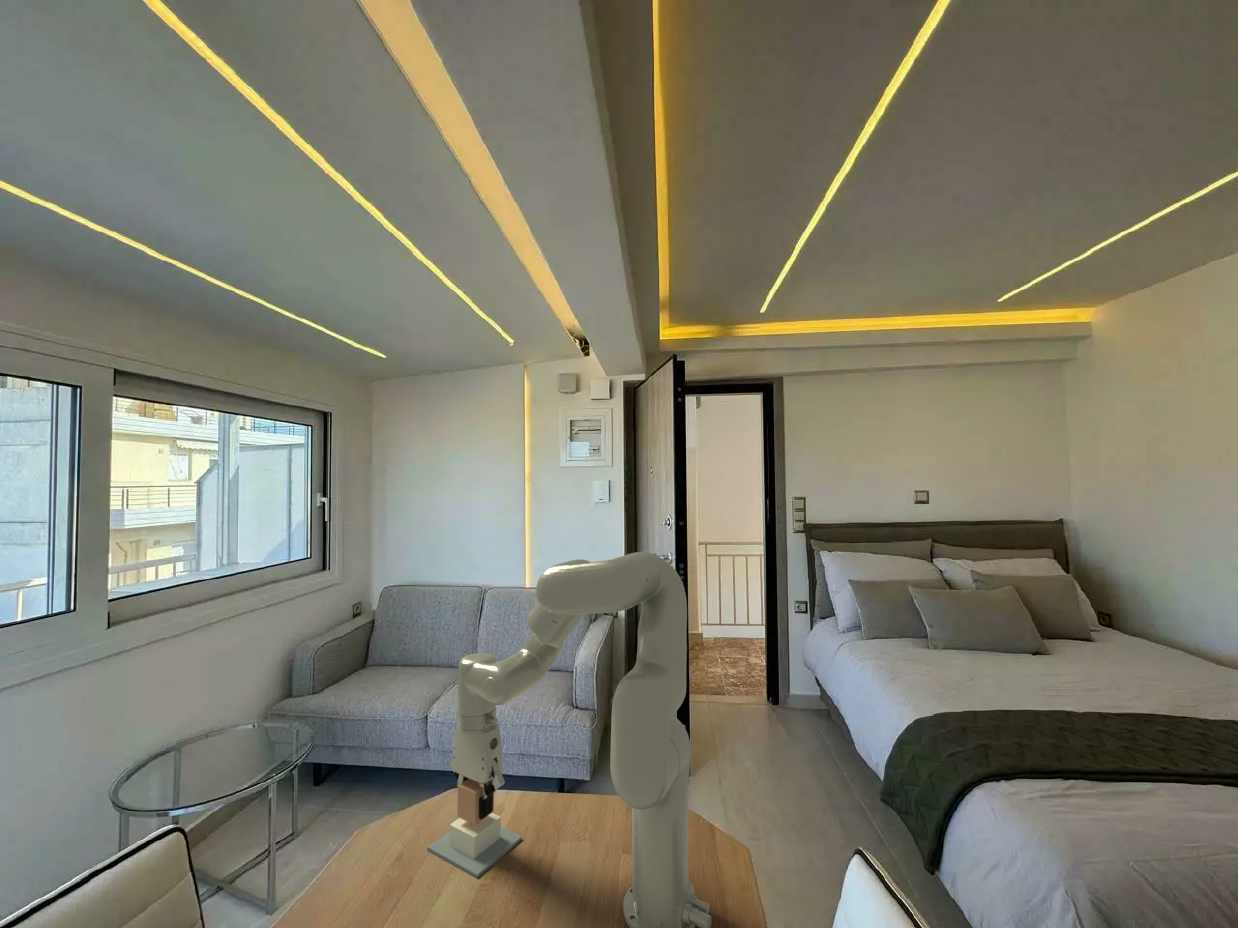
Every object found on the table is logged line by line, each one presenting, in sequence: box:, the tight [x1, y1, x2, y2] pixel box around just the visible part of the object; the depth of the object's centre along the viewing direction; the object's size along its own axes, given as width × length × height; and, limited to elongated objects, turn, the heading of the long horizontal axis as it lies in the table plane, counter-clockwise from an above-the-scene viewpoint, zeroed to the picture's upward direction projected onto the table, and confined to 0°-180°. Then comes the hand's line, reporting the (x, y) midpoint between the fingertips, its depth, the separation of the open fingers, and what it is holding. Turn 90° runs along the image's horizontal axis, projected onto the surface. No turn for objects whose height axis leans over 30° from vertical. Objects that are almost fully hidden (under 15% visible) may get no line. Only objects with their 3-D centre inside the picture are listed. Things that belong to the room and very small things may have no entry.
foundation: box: [426, 812, 523, 879], centre depth 100 cm, size 14×12×5 cm
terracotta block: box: [456, 778, 495, 825], centre depth 101 cm, size 5×5×6 cm
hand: (475, 809), depth 101 cm, fingers closed on terracotta block, 4 cm apart
